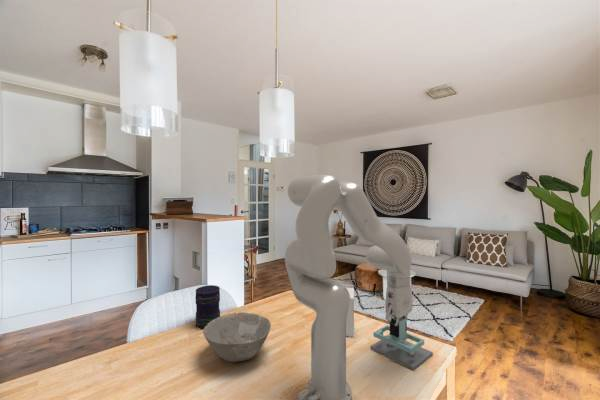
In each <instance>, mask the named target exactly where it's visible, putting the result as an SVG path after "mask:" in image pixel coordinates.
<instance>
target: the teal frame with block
mask: <svg viewBox="0 0 600 400" xmlns="http://www.w3.org/2000/svg"><path fill="white" fill-rule="evenodd" d="M393 319H394V320H395V317H393ZM398 325H399V337H398V338H397V337H395V336H393V335H390V333H388V334H386V335H387V336H386V335H384V333H385V332H386V331H389V332H390V324H387V325H384V326H382V327H380V328H379V329H377V330H376V331H374V332H373V337H374V338H376V339H379V341H380V340H383V341H385V342H387V343H389V344H391V345H393V346H396V347H398V348H400V349H402V350H404V351H406V352H409V353H411V354H412V353H413V352H414V351H416V350H417V349H418V348H420V347H422V346H423V345H425V339H423V338H420V337H418V336H416V335H413V334H410V333H409V332H406V319H405V318H403V317H401V318H399V319H398ZM407 340H411V341H412V342H410V343H411V344H410V345H408V346H407V345H405V344H404V341H407ZM413 342H416V343H413ZM414 344H415V345H414Z"/></svg>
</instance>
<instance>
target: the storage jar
mask: <svg viewBox="0 0 600 400" xmlns="http://www.w3.org/2000/svg"><path fill="white" fill-rule="evenodd" d="M194 300H195V305H196V306H195V308H196V310H195V327H196V326H197V327H198V328H200V329H199V330H202V329H204V328H205V326H207V324H208V323H209V322H211V321H212V320H214V319H216V318H218V317H221V309H220V302H221V301H220V300H221V293H220V286H217V285H204V286H200V287H198V288H196V289H195V299H194ZM197 327H196V328H197ZM198 328H197V329H198Z"/></svg>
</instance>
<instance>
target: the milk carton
mask: <svg viewBox="0 0 600 400" xmlns="http://www.w3.org/2000/svg"><path fill="white" fill-rule="evenodd" d="M342 284H343V283H342ZM343 285H344V286H345V287H346V288H347V290H348V292H349V295H350V304H349V309H348V314H347V321H346V337H349V338H350V337H352V338H354V336H355V333H354V332H355V285H354V284H343Z"/></svg>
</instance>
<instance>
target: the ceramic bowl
mask: <svg viewBox="0 0 600 400" xmlns="http://www.w3.org/2000/svg"><path fill="white" fill-rule="evenodd" d="M271 327H272V326H271V322H270V320H269V318H267V317H265V316H263V315H260V314H257V313H250V312H249V313H248V312H237V313H236V312H234V313H229V314H223V315H220V317H218V318H216V319H214V320H212V321H211V322H209V323H208V324H207V326H205V328H204V330H202V333H203V336H204V338H205V340H206V341H207V343H208V345H209V346H210V347H211V349H212V351H214V352H215V354H217V355H218V357H220V358H221V359H223V360H224V361H225V362H229V363H237V362H243V361H248V360H250V359H252V358H254V357H255V356H256V355H257V354H258V353H259V352H260V350H261V349H262V347H263V345H264V344H265V341H266V340H267V338H268V335H269V333H270V331H271Z"/></svg>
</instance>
